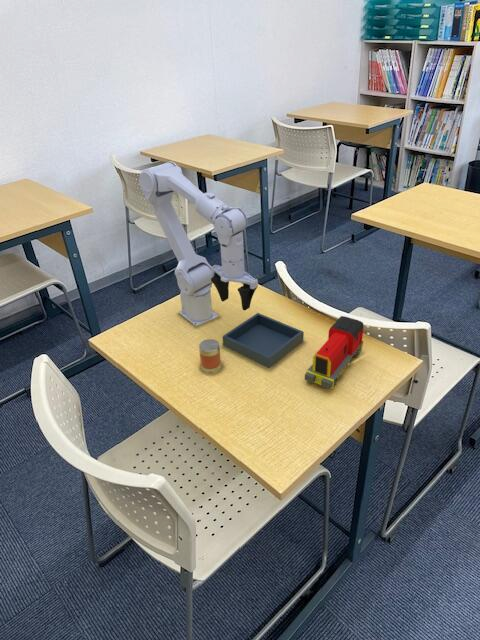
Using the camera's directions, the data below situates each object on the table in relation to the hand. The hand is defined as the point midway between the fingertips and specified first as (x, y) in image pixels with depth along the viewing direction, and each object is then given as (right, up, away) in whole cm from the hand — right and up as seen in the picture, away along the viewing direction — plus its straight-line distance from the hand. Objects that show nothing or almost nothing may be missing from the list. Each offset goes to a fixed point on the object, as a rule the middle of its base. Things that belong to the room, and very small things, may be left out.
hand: (235, 304), depth 128 cm
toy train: (+24, -16, -10) cm, 31 cm away
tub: (+7, -11, 0) cm, 13 cm away
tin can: (-6, -16, -7) cm, 19 cm away
